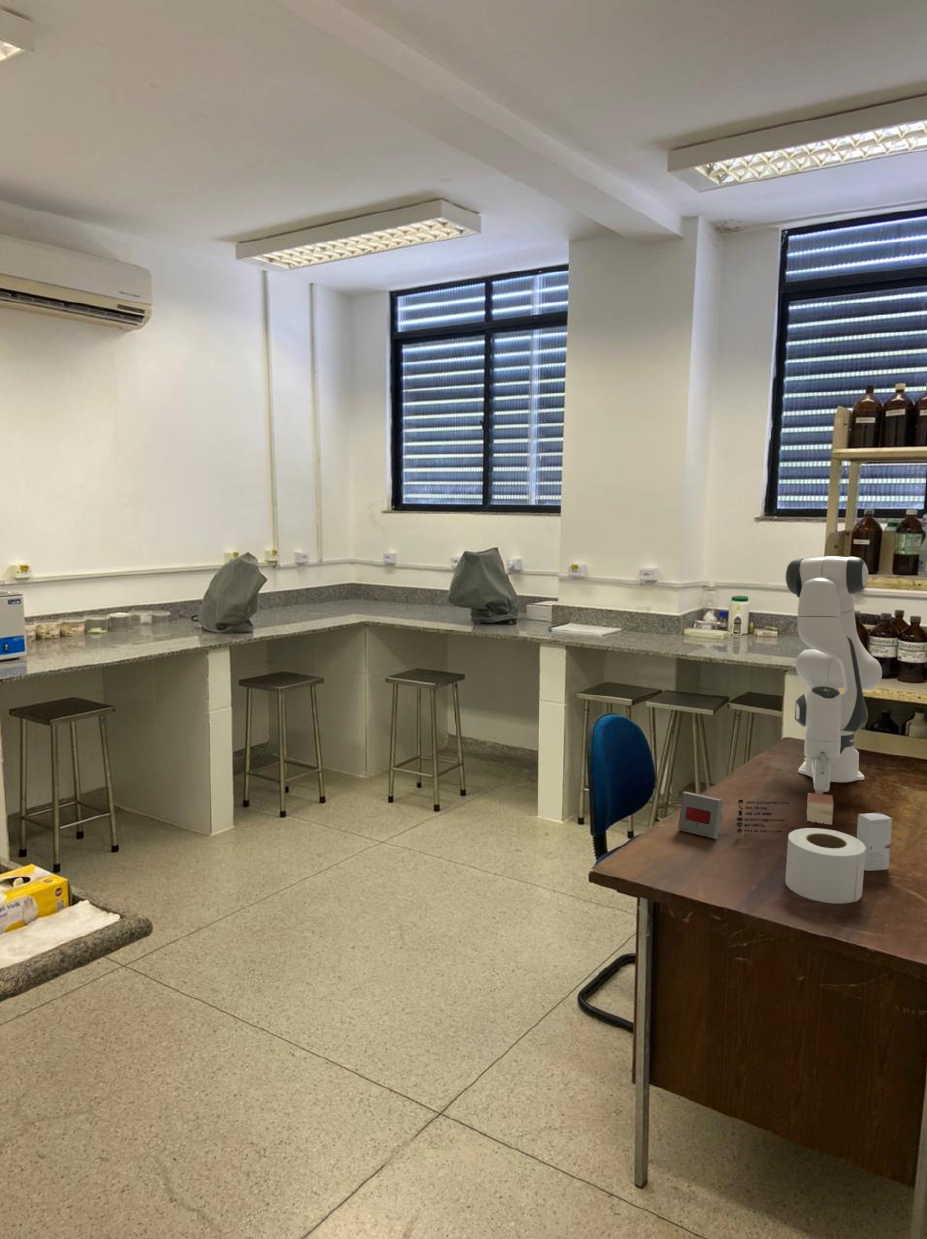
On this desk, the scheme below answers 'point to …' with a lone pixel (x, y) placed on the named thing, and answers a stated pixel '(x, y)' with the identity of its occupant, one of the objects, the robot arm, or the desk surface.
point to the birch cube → (820, 808)
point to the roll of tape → (825, 865)
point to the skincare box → (875, 839)
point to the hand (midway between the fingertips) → (818, 797)
